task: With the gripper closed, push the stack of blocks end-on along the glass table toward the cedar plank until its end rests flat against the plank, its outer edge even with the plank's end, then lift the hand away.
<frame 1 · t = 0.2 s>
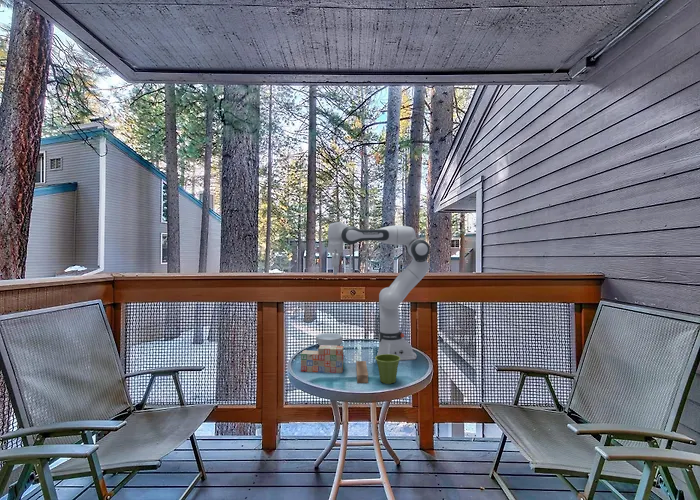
hand: (335, 273, 205), 48 cm above the table, tool pointing down, fingers open, 8 cm apart
plant pot: (387, 381, 168), on the table
stack of blocks: (322, 370, 183), on the table
cereal bowl: (329, 347, 224), on the table
board: (361, 375, 176), on the table
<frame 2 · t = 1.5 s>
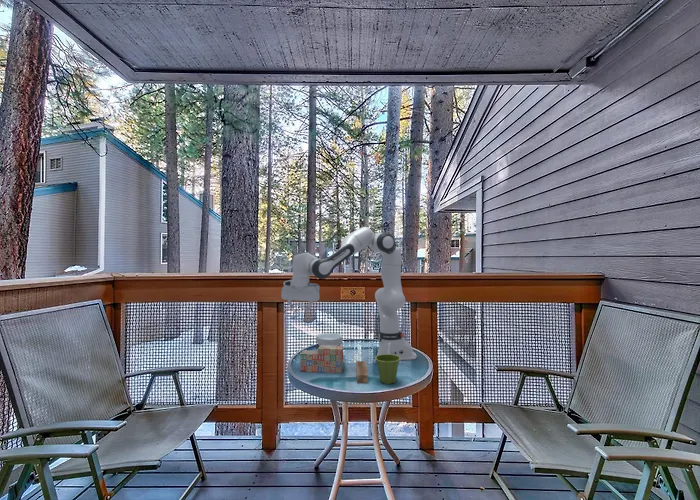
hand: (300, 308, 187), 31 cm above the table, tool pointing down, fingers open, 8 cm apart
nothing on the table moved.
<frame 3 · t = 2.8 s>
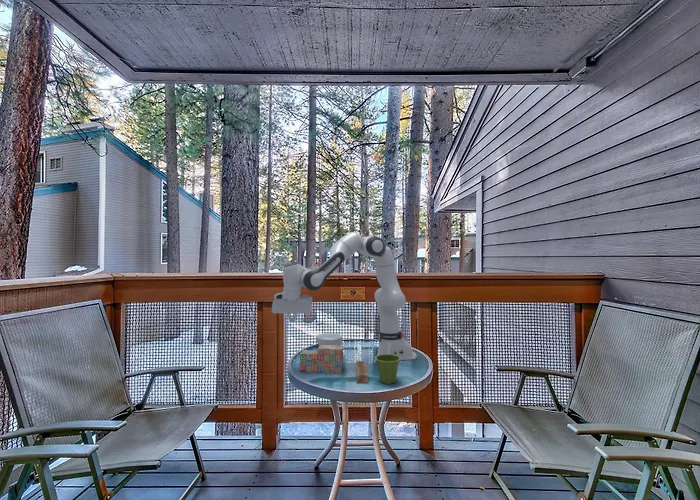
hand: (292, 321, 182), 25 cm above the table, tool pointing down, fingers closed
nothing on the table moved.
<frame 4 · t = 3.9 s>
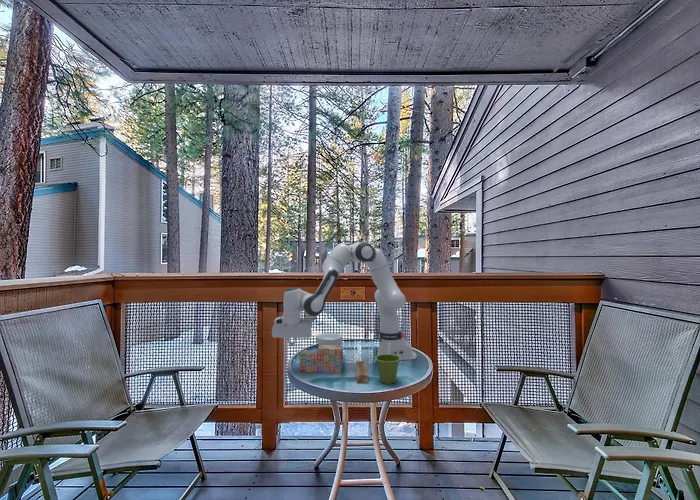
hand: (291, 346, 183), 12 cm above the table, tool pointing down, fingers closed
nothing on the table moved.
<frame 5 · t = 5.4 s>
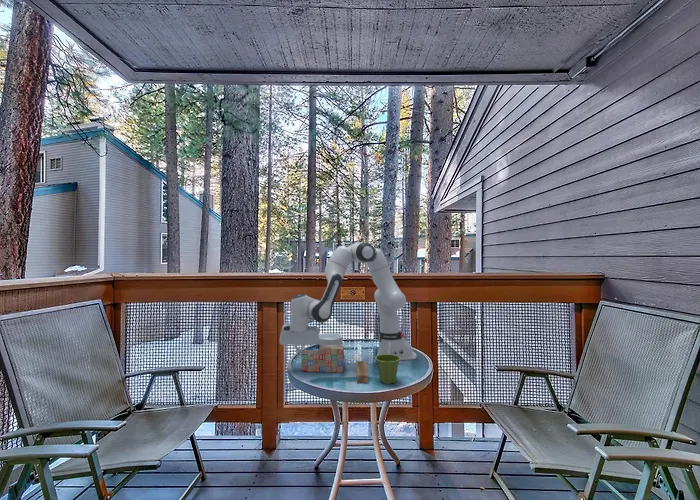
hand: (299, 352, 183), 9 cm above the table, tool pointing down, fingers closed
stack of blocks: (322, 370, 183), on the table, touching gripper
everything else where it was.
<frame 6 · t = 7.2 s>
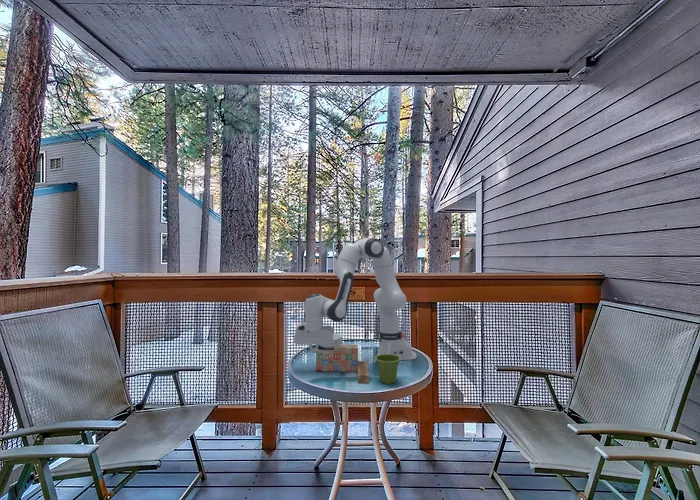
hand: (313, 352, 183), 9 cm above the table, tool pointing down, fingers closed
stack of blocks: (337, 369, 183), on the table, touching gripper
everything else where it was.
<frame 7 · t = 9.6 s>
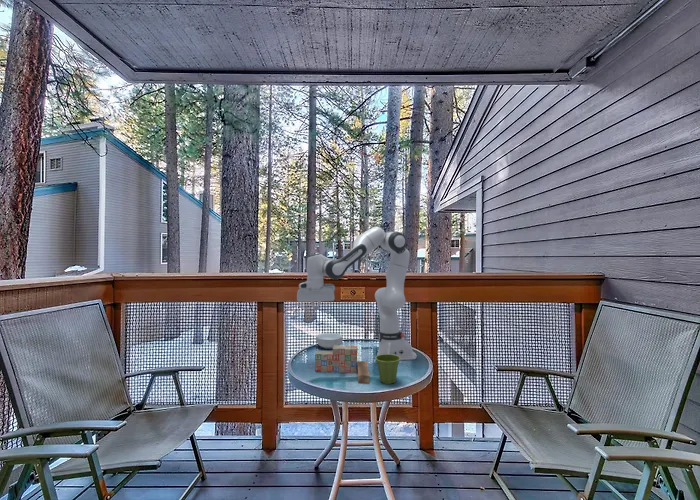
hand: (316, 309, 191), 30 cm above the table, tool pointing down, fingers closed
stack of blocks: (336, 370, 183), on the table
everything else where it was.
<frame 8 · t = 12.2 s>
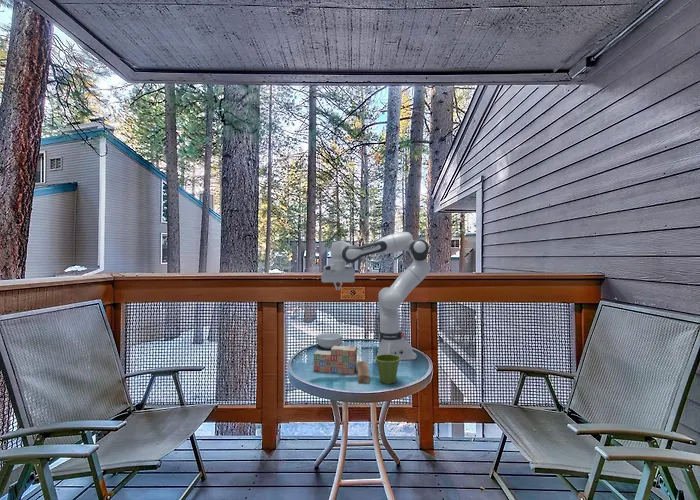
hand: (338, 289, 215), 37 cm above the table, tool pointing down, fingers closed
stack of blocks: (335, 371, 182), on the table
everything else where it was.
at the end: stack of blocks inside the target area on the table beside the board (3.3 cm from its centre), on the table; stack of blocks tilted 0°; stack of blocks moved 6.7 cm from its start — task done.
